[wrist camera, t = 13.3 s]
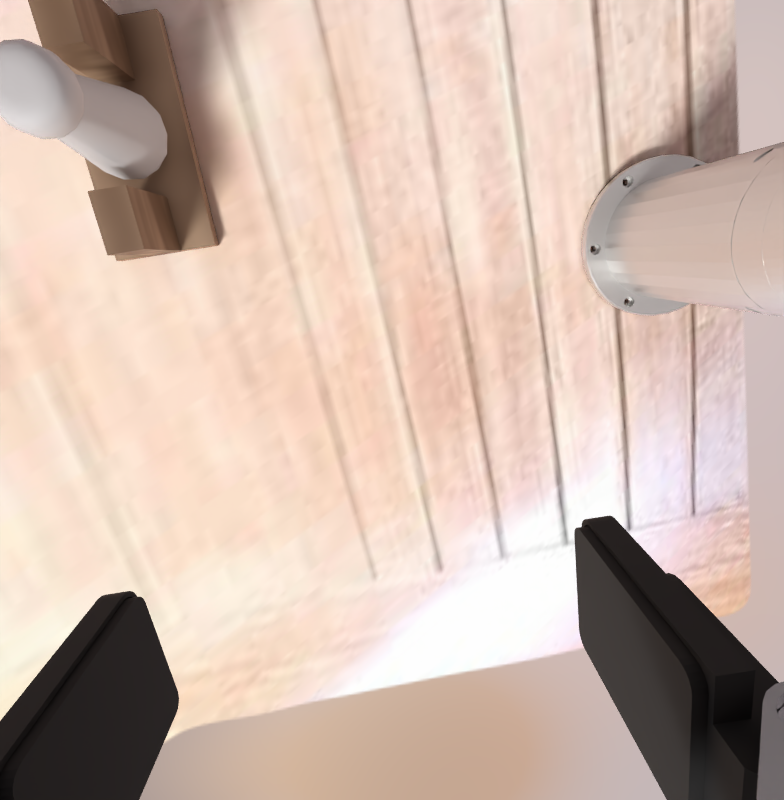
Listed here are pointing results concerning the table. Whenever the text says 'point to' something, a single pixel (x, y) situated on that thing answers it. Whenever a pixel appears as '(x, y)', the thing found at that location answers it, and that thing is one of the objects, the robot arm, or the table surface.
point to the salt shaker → (79, 111)
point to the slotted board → (158, 83)
